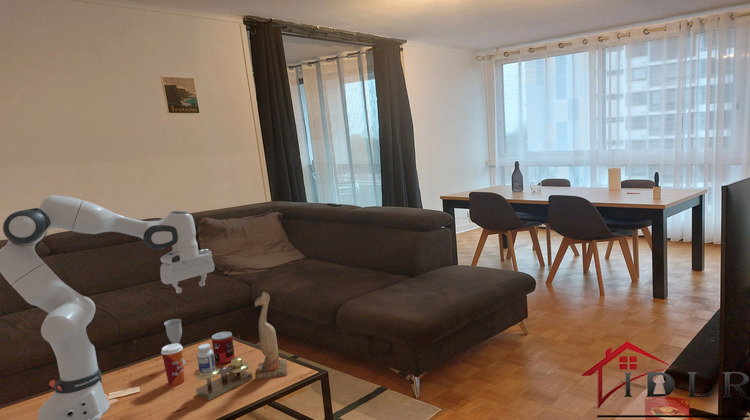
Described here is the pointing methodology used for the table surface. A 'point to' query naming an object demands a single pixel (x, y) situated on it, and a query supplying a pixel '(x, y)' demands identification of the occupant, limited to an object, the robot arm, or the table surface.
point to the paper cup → (173, 363)
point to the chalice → (174, 331)
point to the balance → (224, 379)
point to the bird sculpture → (268, 344)
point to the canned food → (223, 347)
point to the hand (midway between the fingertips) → (191, 289)
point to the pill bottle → (205, 359)
